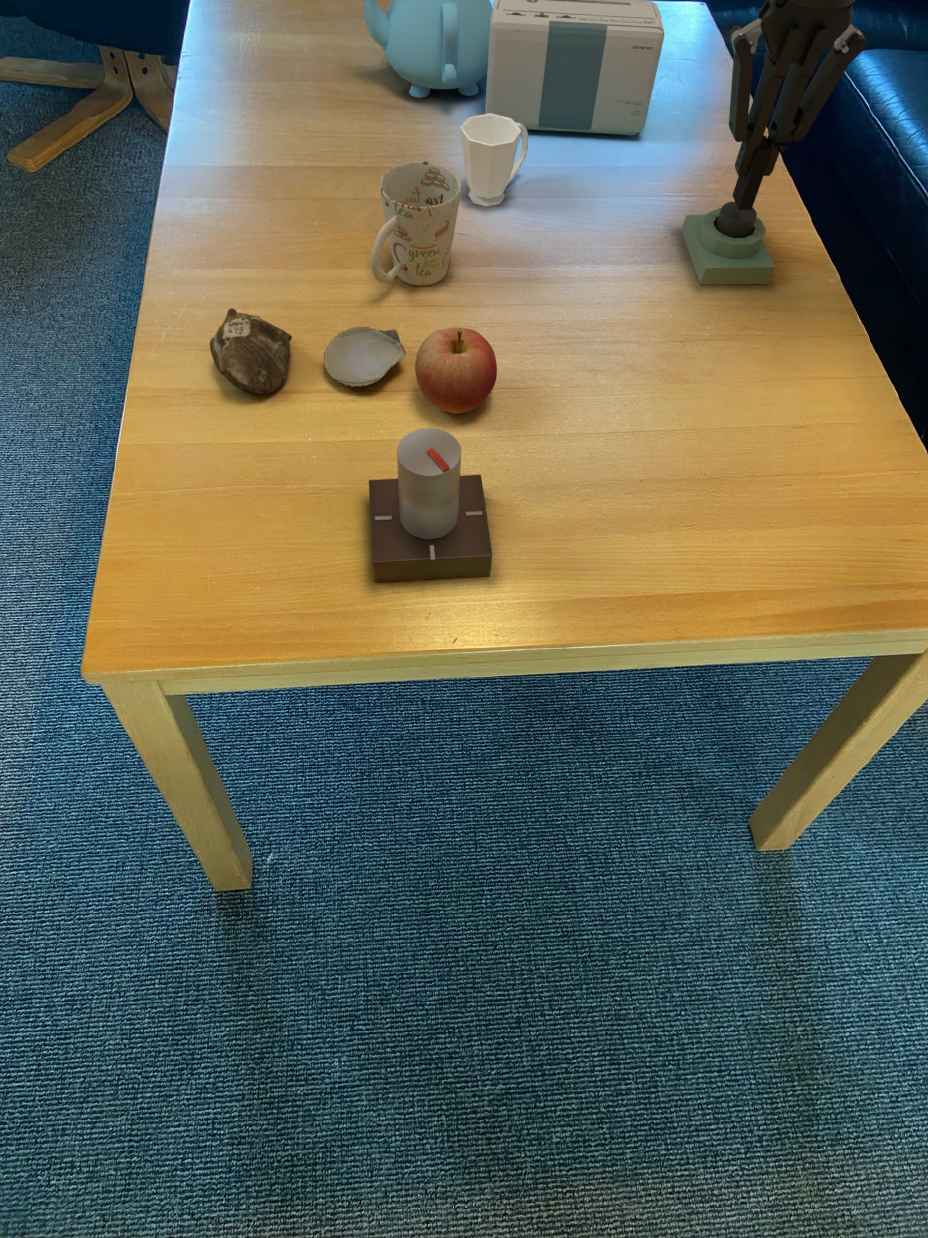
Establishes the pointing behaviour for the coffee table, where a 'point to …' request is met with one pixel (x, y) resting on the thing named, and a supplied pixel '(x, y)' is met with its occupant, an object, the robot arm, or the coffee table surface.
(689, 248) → the button box
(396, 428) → the coffee table surface
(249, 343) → the fossilized seashell
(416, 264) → the mug
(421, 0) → the teapot
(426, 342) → the apple
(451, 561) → the control panel
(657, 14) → the white and blue toaster
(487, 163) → the cup
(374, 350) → the seashell
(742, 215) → the button
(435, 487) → the dial
